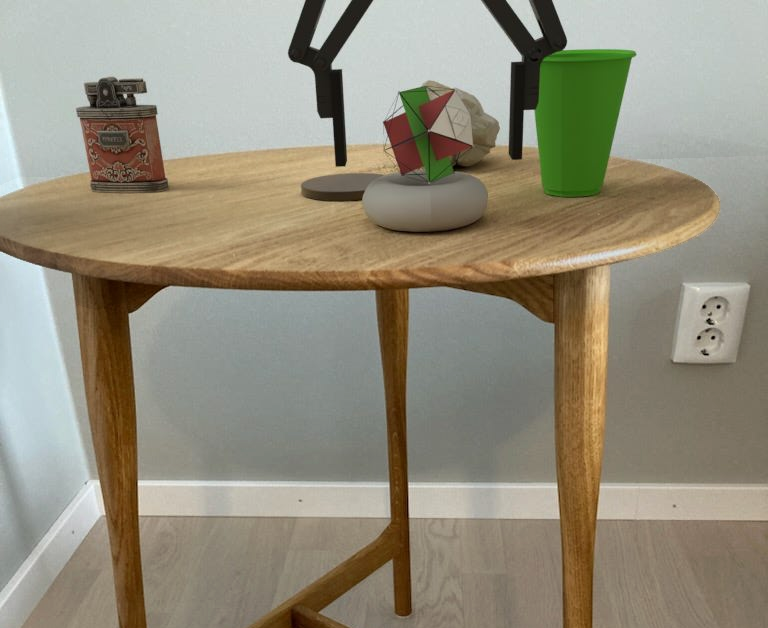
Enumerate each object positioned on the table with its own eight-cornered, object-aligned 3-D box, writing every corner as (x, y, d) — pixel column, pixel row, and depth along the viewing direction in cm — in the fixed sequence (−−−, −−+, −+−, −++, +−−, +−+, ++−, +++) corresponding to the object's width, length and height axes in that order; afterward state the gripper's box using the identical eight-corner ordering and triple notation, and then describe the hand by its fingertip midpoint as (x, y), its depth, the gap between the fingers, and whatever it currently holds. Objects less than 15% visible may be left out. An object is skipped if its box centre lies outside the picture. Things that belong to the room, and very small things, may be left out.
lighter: (84, 192, 90) (62, 80, 85) (101, 185, 93) (81, 76, 88) (159, 192, 88) (142, 78, 83) (174, 185, 91) (158, 74, 86)
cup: (637, 184, 82) (650, 48, 77) (604, 205, 76) (615, 57, 70) (543, 179, 86) (549, 49, 81) (504, 197, 80) (508, 57, 74)
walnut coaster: (297, 202, 81) (296, 193, 81) (306, 183, 89) (305, 174, 89) (397, 198, 81) (397, 189, 81) (397, 180, 89) (397, 171, 89)
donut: (455, 205, 79) (346, 215, 76) (456, 162, 77) (344, 172, 74) (509, 228, 71) (389, 242, 68) (512, 182, 69) (388, 193, 66)
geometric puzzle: (345, 152, 70) (397, 60, 65) (390, 138, 75) (442, 51, 70) (412, 216, 70) (470, 128, 64) (453, 197, 75) (509, 115, 69)
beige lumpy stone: (468, 153, 102) (387, 171, 99) (459, 72, 98) (375, 88, 95) (526, 159, 92) (439, 179, 89) (520, 68, 88) (428, 86, 85)
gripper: (226, -183, 57) (262, 175, 68) (626, -203, 56) (598, 162, 67) (243, -166, 63) (274, 158, 74) (602, -184, 63) (581, 146, 73)
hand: (428, 160), depth 71 cm, fingers open, 13 cm apart
